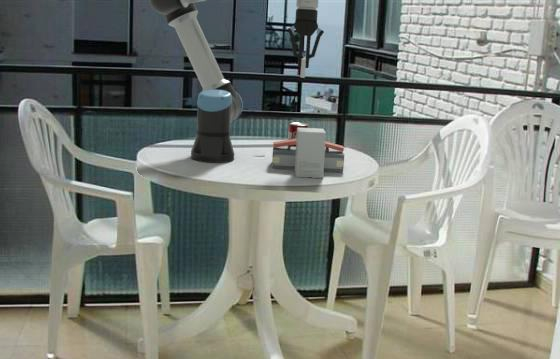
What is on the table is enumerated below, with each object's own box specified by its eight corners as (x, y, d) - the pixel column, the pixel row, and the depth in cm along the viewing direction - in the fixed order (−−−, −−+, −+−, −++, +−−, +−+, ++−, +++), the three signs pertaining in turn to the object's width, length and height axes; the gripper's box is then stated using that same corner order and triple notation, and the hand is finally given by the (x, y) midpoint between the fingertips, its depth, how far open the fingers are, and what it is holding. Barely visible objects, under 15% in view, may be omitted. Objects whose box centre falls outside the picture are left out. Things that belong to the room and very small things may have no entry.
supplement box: (321, 172, 229) (324, 128, 226) (323, 178, 221) (327, 132, 217) (293, 171, 229) (296, 126, 226) (295, 177, 220) (298, 131, 217)
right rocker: (311, 143, 232) (312, 139, 231) (311, 141, 236) (312, 137, 236) (343, 151, 232) (344, 148, 232) (341, 149, 237) (342, 146, 236)
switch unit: (271, 168, 231) (273, 147, 229) (272, 162, 241) (273, 141, 239) (343, 172, 231) (344, 151, 229) (340, 166, 241) (342, 145, 239)
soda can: (304, 158, 250) (307, 126, 247) (285, 156, 252) (287, 124, 249) (308, 155, 257) (310, 123, 254) (289, 153, 258) (291, 121, 256)
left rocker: (273, 147, 232) (273, 144, 232) (273, 145, 236) (273, 142, 236) (305, 142, 232) (305, 139, 231) (305, 140, 236) (304, 137, 236)
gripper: (288, 7, 234) (284, 77, 239) (326, 9, 234) (321, 79, 239) (288, 7, 241) (284, 75, 246) (325, 9, 241) (320, 77, 246)
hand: (302, 77), depth 243 cm, fingers closed
